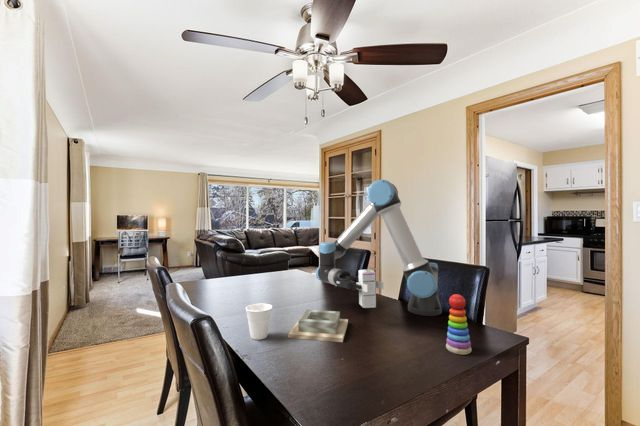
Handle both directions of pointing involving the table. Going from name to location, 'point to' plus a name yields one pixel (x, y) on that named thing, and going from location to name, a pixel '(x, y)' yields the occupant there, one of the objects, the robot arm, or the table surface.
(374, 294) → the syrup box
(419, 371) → the table surface
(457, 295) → the stacking toy
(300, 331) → the socket block
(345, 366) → the table surface
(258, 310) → the cup
